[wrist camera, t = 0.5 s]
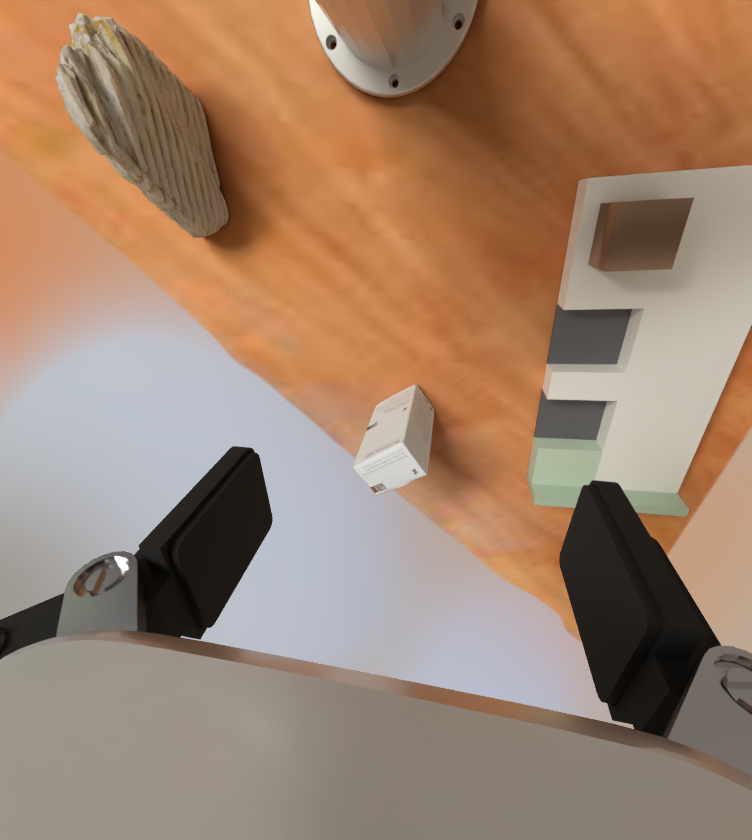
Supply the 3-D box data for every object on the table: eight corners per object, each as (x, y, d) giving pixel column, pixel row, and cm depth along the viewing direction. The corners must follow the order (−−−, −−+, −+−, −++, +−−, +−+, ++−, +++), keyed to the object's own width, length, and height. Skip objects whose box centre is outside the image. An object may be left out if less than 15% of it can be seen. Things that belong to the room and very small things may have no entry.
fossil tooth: (196, 236, 40) (119, 46, 32) (246, 227, 38) (178, 23, 30) (114, 261, 31) (-24, 3, 23) (175, 250, 29) (49, -34, 21)
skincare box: (416, 381, 42) (403, 438, 32) (436, 411, 43) (430, 474, 33) (373, 405, 45) (348, 465, 34) (394, 433, 46) (376, 498, 36)
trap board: (578, 180, 30) (598, 175, 26) (796, 162, 28) (858, 154, 23) (526, 477, 46) (534, 504, 41) (663, 485, 43) (686, 516, 39)
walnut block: (600, 203, 29) (620, 202, 26) (665, 198, 28) (694, 197, 25) (587, 264, 31) (604, 271, 28) (647, 262, 30) (671, 269, 27)
